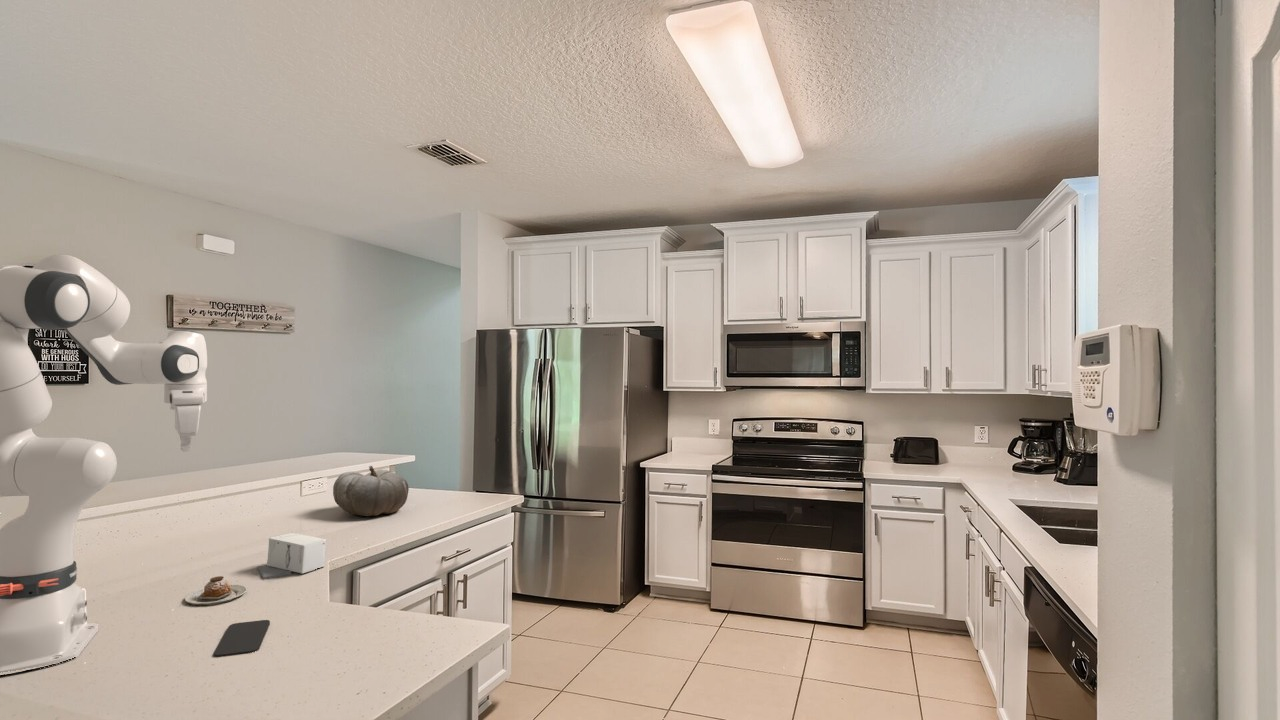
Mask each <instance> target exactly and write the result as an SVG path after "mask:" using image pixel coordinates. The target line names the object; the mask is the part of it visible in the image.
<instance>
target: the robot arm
mask: <svg viewBox="0 0 1280 720" xmlns="http://www.w3.org/2000/svg"><path fill="white" fill-rule="evenodd" d="M130 314H131V304H130V300H129V299H128V297H127V296H126V294H125V293H124V292H123V290H121V289H120V288H119V287H118V286H117V285H116V284H115V283H113V282H112V281H111V280H110V279H109V278H108V277H107V276H106V275H104V274H103V273H102V272H100V271H99V270H97V269H96V268H95V267H93V266H92V265H90V264H88V263H87V262H85V261H83V260H81V259H80V258H78V257H75V256H73V255H69V254H62V253H61V254H53V255H49V256H47V257H44V258H42V259H40V260H39V261H37V262H36V264H35V265H33V267H25V266H22V265H12V264H0V497H28V503H27V507H26V510H25V512H24V513H23V514H21V515H20V516H17V517H16V518H13V519H11V520H9V521H8V522H7V523H5V524H4V525H3V526H2V527H1V528H0V673H1V672H2V673H3V672H8V671H10V672H11V671H16V670H22V669H26V668H33V667H39V666H45V665H50V664H53V663H57V662H62V661H64V660H68V659H71V660H73V659H72V658H74V657H76V658H78V657H79V655H80V654H82V652H83V650H85V648H84V647H87V645H88V644H89V642H90V641H91V640H92V639H93V638H94V636H95V635H96V633H97V632H98V631H99V629H100V628H99V624H98V623H94V622H93V623H92V622H90V623H89V622H87V620H88V618H87V617H88V616H87V605H88V601H87V590H86V589H85V588H84V587H82V586H80V585H79V584H77V582H76V580H77V574H78V567H77V562H76V561H75V560H74V557H75V556H74V555H75V537H76V536H75V535H76V526H77V522H78V519H79V517H80V514H81V512H82V510H83V508H84V507H85V506H86V504H87V502H89V500H90V499H91V498H92V497H93V496H94V495H96V493H98V492H99V491H101V490H102V489H104V488H105V487H106V486H107V485H108V484H110V482H111V481H112V480H113V478H114V476H115V475H116V472H117V468H118V459H117V456H116V453H115V451H114V450H113V448H112V447H111V445H109V444H108V443H107V442H103V441H99V440H94V439H88V438H81V437H42V436H41V437H40V436H37V435H36V434H35V433H34V431H33V428H34V427H36V426H38V425H39V424H40V423H42V422H43V421H45V420H46V419H47V418H48V416H49V415H50V413H51V411H52V407H53V400H52V397H51V395H50V391H49V390H48V387H47V385H46V382H45V379H44V376H43V374H42V371H41V369H40V367H39V364H38V362H37V360H36V357H35V355H34V354H33V352H32V350H31V348H30V346H29V345H28V344H29V343H28V341H29V339H28V338H29V332H30V329H32V330H33V329H38V330H39V329H42V330H46V331H53V330H55V331H56V330H64V331H65V332H66V335H68V336H69V338H70V339H71V340H72V341H73V342H74V343H75V344H76V345H77V346H78V347H79V348H80V349H81V350H82V351H83V352H84V353H85V354H86V356H88V357H89V358H90V359H91V360H92V362H93V363H94V364H95V365H96V368H97V369H98V371H99V373H100V374H101V375H102V377H103V378H104V379H105V380H106V381H107V382H108V383H110V384H113V385H115V386H119V385H120V386H121V385H132V384H134V385H135V384H143V385H145V384H146V385H148V384H149V385H150V384H151V385H154V384H155V385H156V384H157V385H159V384H161V385H162V384H163V385H164V387H163V391H164V393H163V394H164V395H163V396H164V398H163V402H164V403H165V404H169V405H170V410H173V411H174V429H175V430H176V432H177V434H178V436H179V440H180V450H181V452H190V450H191V443H192V442H191V441H192V436H197V434H198V431H199V427H200V418H201V411H202V405H204V403H206V402H207V401H208V379H207V377H206V373H207V368H208V350H207V349H208V348H207V342H206V339H205V336H204V335H203V334H202V333H199V331H198V332H197V331H195V330H186V329H174V330H171V331H169V332H168V334H167V337H166V338H165V339H164V340H162V341H159V342H153V343H151V342H147V343H146V342H124V341H119V340H117V339H115V338H114V337H113V334H115V333H117V332H118V331H120V330H121V329H122V328H123V326H125V324H126V323H127V321H128V320H129V318H130ZM81 651H82V652H81ZM74 659H75V658H74ZM68 661H69V660H68ZM62 663H63V662H62Z"/></svg>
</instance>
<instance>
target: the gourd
mask: <svg viewBox="0 0 1280 720" xmlns="http://www.w3.org/2000/svg"><path fill="white" fill-rule="evenodd" d="M368 468H369V470H368V471H369V472H368V473H367V474H362V473H360V472H357V471H346V472H343V473H340V475H339V476H338V477H337V479H336V480H335V481H334V484H333V486H332V492H333V493H332V494H333V495H332V496H333V499H334V503H336V504H337V506H338V507H339V508H340V509H342V510H343V511H344V512H346V513H348V514H351V515H354V516H362V517H363V516H364V517H371V516H375V517H376V516H379V515H381V514H383V515H388V514H392V513H395V512H397V511H399V510H400V509H402V508H403V506H404V505H405V504H406V502H407V500H408V496H409V495H408V494H409V484H408V481H407V480H406V479H405V478H404V477H403V476H400V475H398V474H397V473H396V472H392V471H390V470H388V469H378V470H375V469H374V467H373V465H370V466H368Z"/></svg>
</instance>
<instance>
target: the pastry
mask: <svg viewBox="0 0 1280 720" xmlns="http://www.w3.org/2000/svg"><path fill="white" fill-rule="evenodd" d="M224 578H225V577H224V576H223V575H222V576H214V577H211V578H210V579H209V581H208V582H207V583H206V584H205V585H204V588H201V589H197V590H195V591H192V592H190V593H188V594H187V595H186V596H185V598H184V601H185V603H188V604H189V605H192V606H214V605H219V604H223V603H224V604H225V603H230V602H231V601H232V600H233V599H235V598H238V597H240V596H242V595H244V594H245V593H247V591H248V588H247V587H246V586H244V585H241V584H231V583H230V582H229V581H228V580H226V579H224ZM232 593H235V595H234V596H232V597H231V596H230V597H229V598H227V597H228V596H229V595H231V594H232ZM198 598H199V599H201V600H203V601H207V602H201V601H197V599H198ZM224 598H226V599H224ZM209 601H210V602H209Z"/></svg>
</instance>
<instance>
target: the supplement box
mask: <svg viewBox="0 0 1280 720" xmlns="http://www.w3.org/2000/svg"><path fill="white" fill-rule="evenodd" d="M267 550H268V552H267V560H266V561H267V562H266V565H267V566H271V567H276V568H280V569H285V570H289V571H290V572H293V573H298V574H305V573H309V572H312V571H315V569H316V570H318V569H317V568H320V567H322V566H324V565H326V552H327V551H326V550H327V539H326V538H320V537H316V536H311V535H305V534H301V533H294V532H290V533H289V532H288V533H285V534H281V535H277V536H272V537H269V538H268V549H267ZM324 567H325V566H324ZM320 569H321V568H320Z"/></svg>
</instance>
